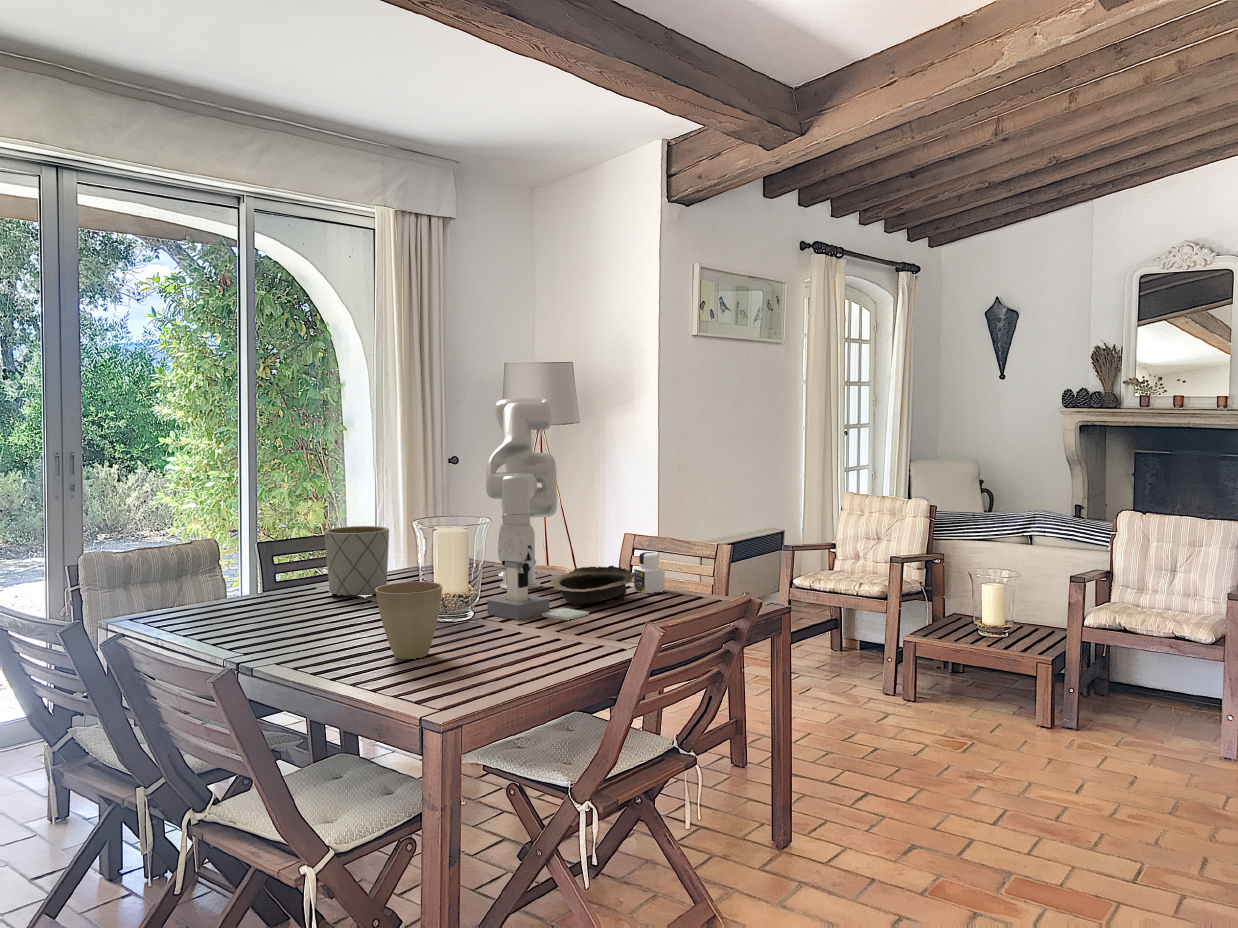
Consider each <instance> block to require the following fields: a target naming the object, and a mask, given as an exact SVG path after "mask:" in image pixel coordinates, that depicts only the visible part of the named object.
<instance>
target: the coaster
mask: <svg viewBox="0 0 1238 928" xmlns="http://www.w3.org/2000/svg"><path fill="white" fill-rule="evenodd" d="M586 615H587V616H589V615H590V612H589V611H584V610H580V609H579V610H578V609H573V608H568V607H567V608H566V607H563V608H559V609H555V610H551V611H550V612H545V613H542V615H541V616H542V617H545V618H551V619H555V620H560V619H561V621H566V620H567V621H571V620H575V619H577V618H582V617H585V616H586ZM570 619H571V620H570Z"/></svg>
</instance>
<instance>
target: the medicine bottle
mask: <svg viewBox="0 0 1238 928" xmlns="http://www.w3.org/2000/svg"><path fill="white" fill-rule="evenodd" d="M638 558H639V559H638V560H639V563H638V564H639V567H638V566H637V567H634V568H633V574H634V573H635V574H634V576H633V581H634V587H633V588H634V589H633V590H634V591H636V592H638V593H640V592H641V594H643V595H648V594H647V593H650V594H655V593H654V592H661V593H664V592H665V586H666V583H665V577H666V576H665V569H664V568H662V567H659V566H660V555H659V553H657V552H654V551H645V552H641V553H640V554H639V556H638ZM663 591H664V592H663Z"/></svg>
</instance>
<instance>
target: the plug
mask: <svg viewBox="0 0 1238 928" xmlns="http://www.w3.org/2000/svg"><path fill="white" fill-rule="evenodd" d="M524 566H525V563H523V567H524ZM505 567H507V589H506V596H507V600H510V601H516V602H520V601H525V600H528V595H529V594H528V592H529V591H528V590H529V589H528V586H527V587H522V588H519V586H518V573H520V570H519V563H517V562H510V561H505Z"/></svg>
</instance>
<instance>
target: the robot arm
mask: <svg viewBox="0 0 1238 928" xmlns="http://www.w3.org/2000/svg"><path fill="white" fill-rule="evenodd" d="M552 405H553V404H552V403H551V401H550V400H549V399H548V398H541V397H540V398H537V397H536V398H535V397H533V398H531V397H530V398H526V397H524V398H522V397H519V398H518V397H515V398H513V397H512V398H504V399H501V400H499V401H497V402H496V404H495V407H494V408H495V416H496V419H497V423H498V424H499V427H500V430H501V432H502V439H501V440H502V441H501V442H502V444H501V445H499V446H498V447H497V448H496V449H495V450H494V451H493V452H492V454H491V455H490V456H489V458H488V460H487V465H486V472H485V491H486V494H487V495H488V497H489V498H490V499H493V500H500V501H501V509H502V514H501V519H502V524H500V527H499V533H498V541H497V542H498V543H497V544H498V545H497V558H498V561H500V563H501V564H502V566H503V568H504V570H503V571H502V572H501V573H498V578H500V579H502V582H500V584H499V585H500V588H501V589H504V590H507V567H505V561H510V562H517V563H519V570H520V573H518V586H519V588H522V587H527V586H528V590H532V589H537V588H540V587H541V582H540V581H539V580H536V564H537V559H536V540H535V539H536V538H535V537H536V536H535V534H536V533H535V530H534V527H533V526H532V524H531V518H549V517H554V516H555V514H556V513H557V510H558V507H557V506H558V493H557V491H558V490H557V489H558V488H557V486H558V485H557V482H558V481H557V480H558V479H557V463H556V459H555V457H554V456H553V455H552V454H550V453H547V452H533V438H532V431H537V430H539V431H542V430H545V431H546V430H548V429H550V428H551V426H552V424H553V406H552ZM503 465H504V466H505V468H504V469H505V472H497V471H498V469H500V468H501V467H502V466H503ZM538 484H540V485H542V486H541V487H540V486H539V487H538ZM523 563H525V566H524V567H523Z"/></svg>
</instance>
